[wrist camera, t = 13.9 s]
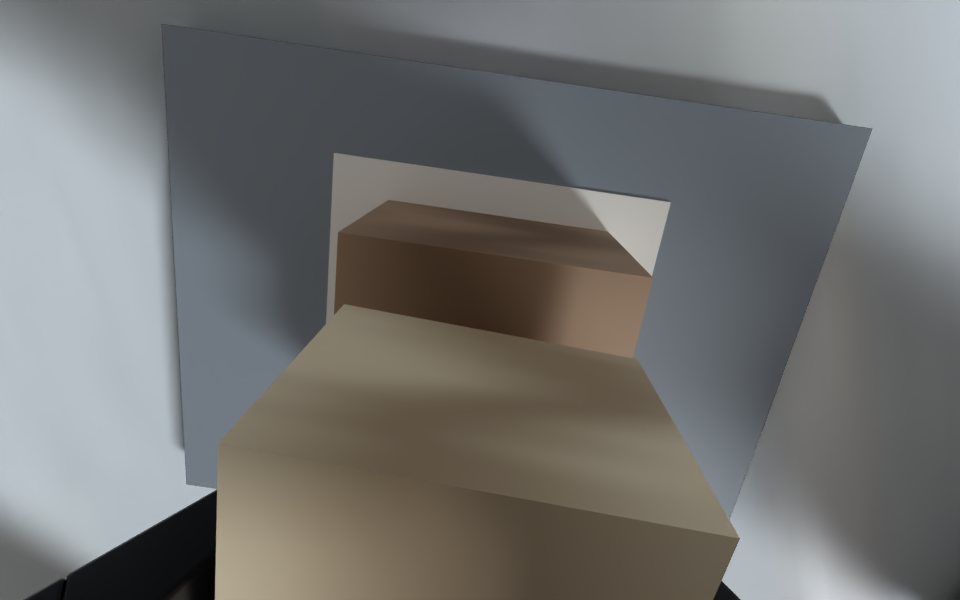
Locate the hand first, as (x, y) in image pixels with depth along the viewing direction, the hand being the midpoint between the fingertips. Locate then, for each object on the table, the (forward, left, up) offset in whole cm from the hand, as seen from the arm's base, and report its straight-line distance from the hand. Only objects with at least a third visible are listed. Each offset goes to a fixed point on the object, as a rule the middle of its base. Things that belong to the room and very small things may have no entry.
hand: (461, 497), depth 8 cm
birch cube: (0, 0, -1) cm, 1 cm away
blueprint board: (0, 0, -8) cm, 8 cm away
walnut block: (0, 0, -7) cm, 7 cm away
